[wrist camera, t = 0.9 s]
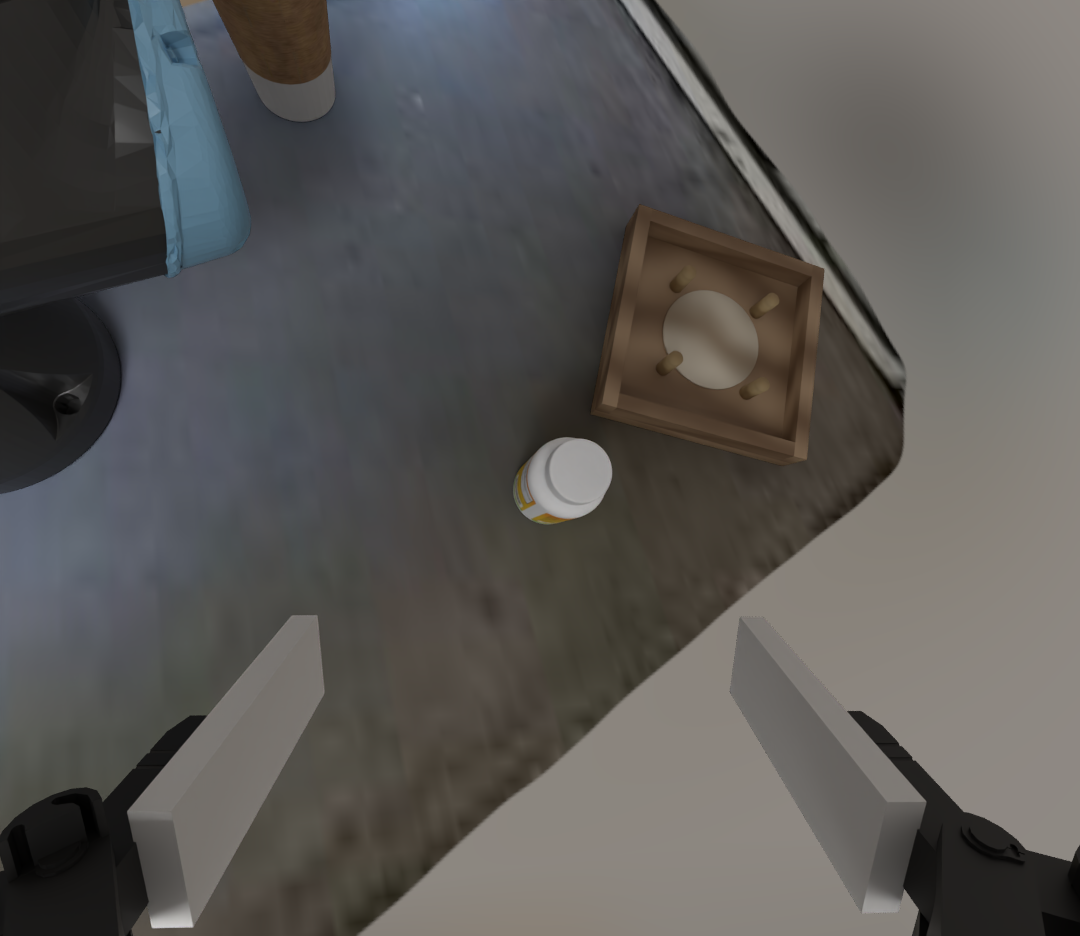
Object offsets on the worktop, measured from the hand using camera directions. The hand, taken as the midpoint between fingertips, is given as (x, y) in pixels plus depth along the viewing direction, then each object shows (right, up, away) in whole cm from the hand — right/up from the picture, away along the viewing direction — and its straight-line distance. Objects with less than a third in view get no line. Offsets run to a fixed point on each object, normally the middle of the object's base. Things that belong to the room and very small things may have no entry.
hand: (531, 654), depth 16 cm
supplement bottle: (+1, +4, +24) cm, 24 cm away
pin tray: (+15, +17, +29) cm, 37 cm away
